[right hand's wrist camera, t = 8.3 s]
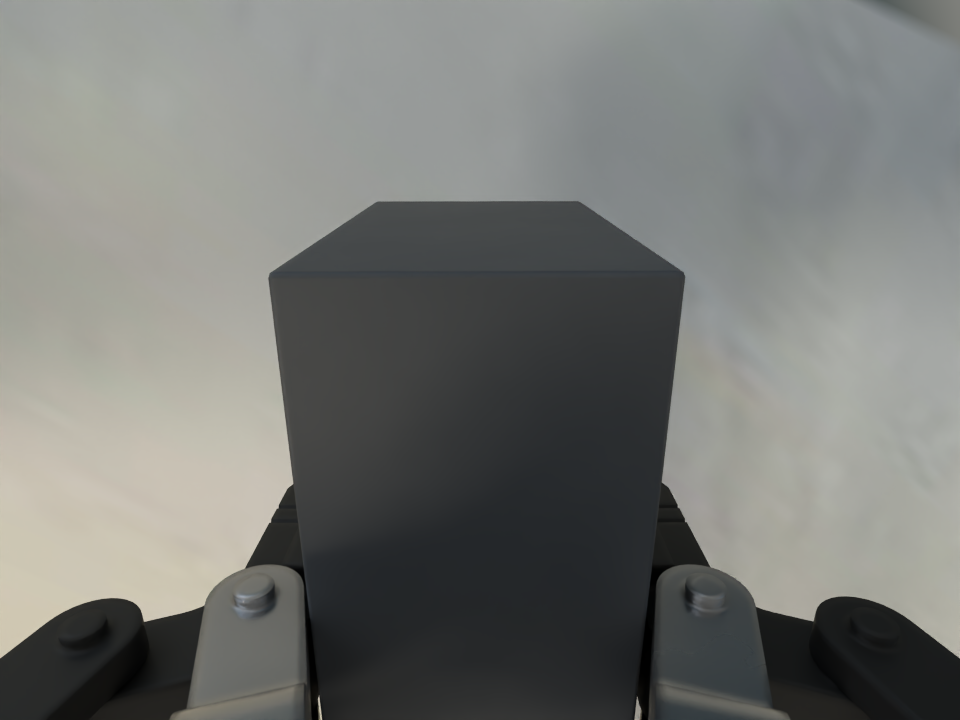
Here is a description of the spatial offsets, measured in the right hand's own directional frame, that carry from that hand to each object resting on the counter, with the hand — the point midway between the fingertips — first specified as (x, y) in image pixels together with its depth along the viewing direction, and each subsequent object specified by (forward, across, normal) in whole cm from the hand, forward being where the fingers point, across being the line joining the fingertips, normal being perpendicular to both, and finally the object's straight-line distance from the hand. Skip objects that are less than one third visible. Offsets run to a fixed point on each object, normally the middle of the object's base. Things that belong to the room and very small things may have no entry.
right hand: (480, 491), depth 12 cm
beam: (+2, 0, -33) cm, 33 cm away
